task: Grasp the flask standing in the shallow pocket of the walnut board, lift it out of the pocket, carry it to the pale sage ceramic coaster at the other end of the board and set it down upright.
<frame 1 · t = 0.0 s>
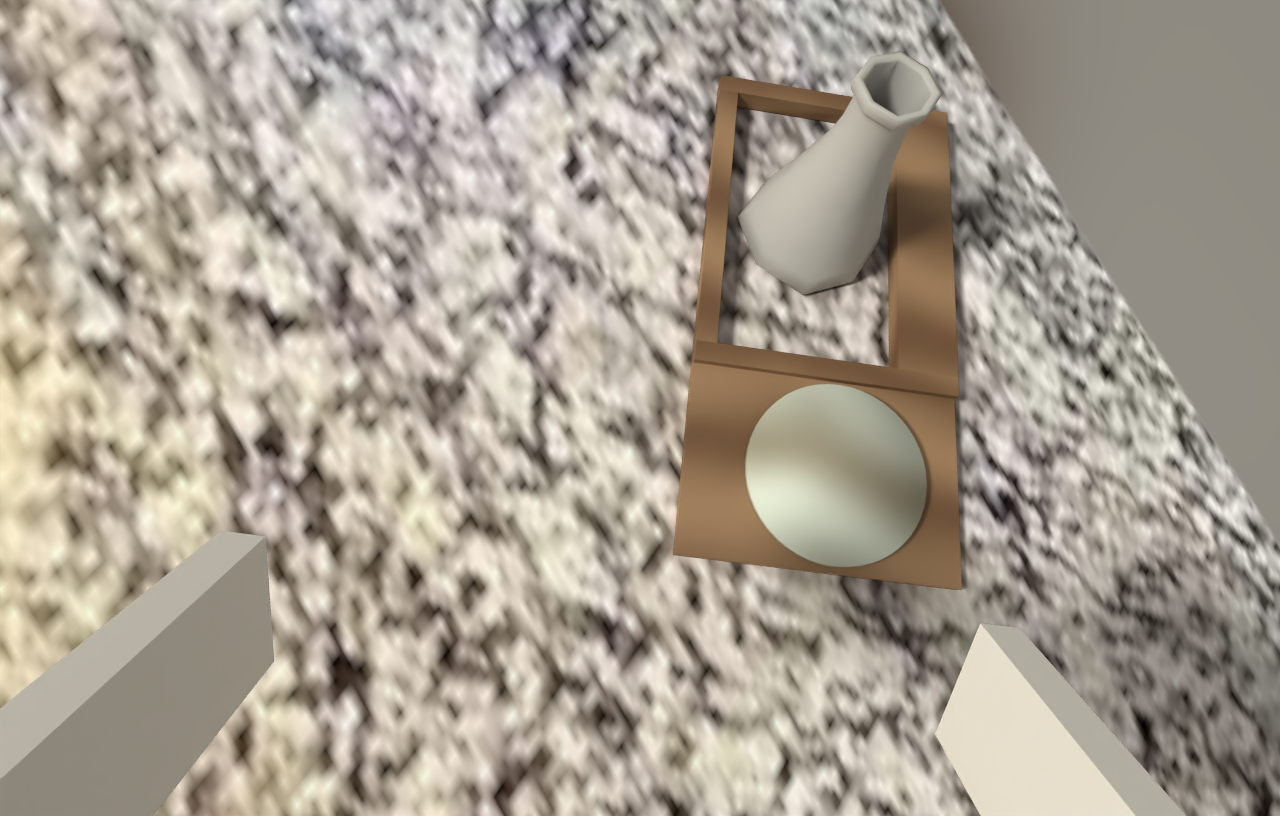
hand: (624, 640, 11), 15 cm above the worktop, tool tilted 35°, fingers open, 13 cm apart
board: (822, 311, 31), on the worktop
flask: (804, 235, 32), on the worktop
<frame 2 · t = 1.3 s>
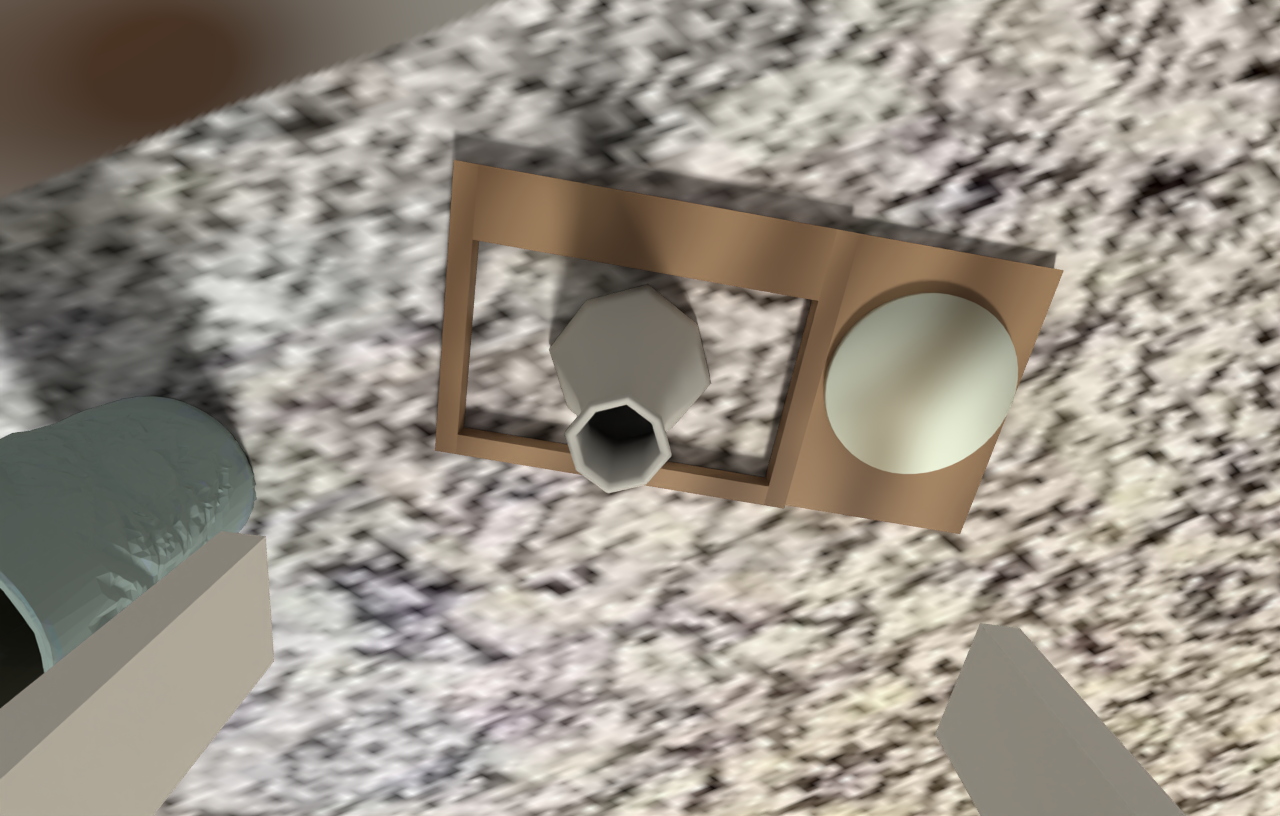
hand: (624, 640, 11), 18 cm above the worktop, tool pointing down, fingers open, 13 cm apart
green cup: (176, 477, 31), on the worktop
board: (729, 361, 28), on the worktop
flask: (630, 363, 28), on the worktop
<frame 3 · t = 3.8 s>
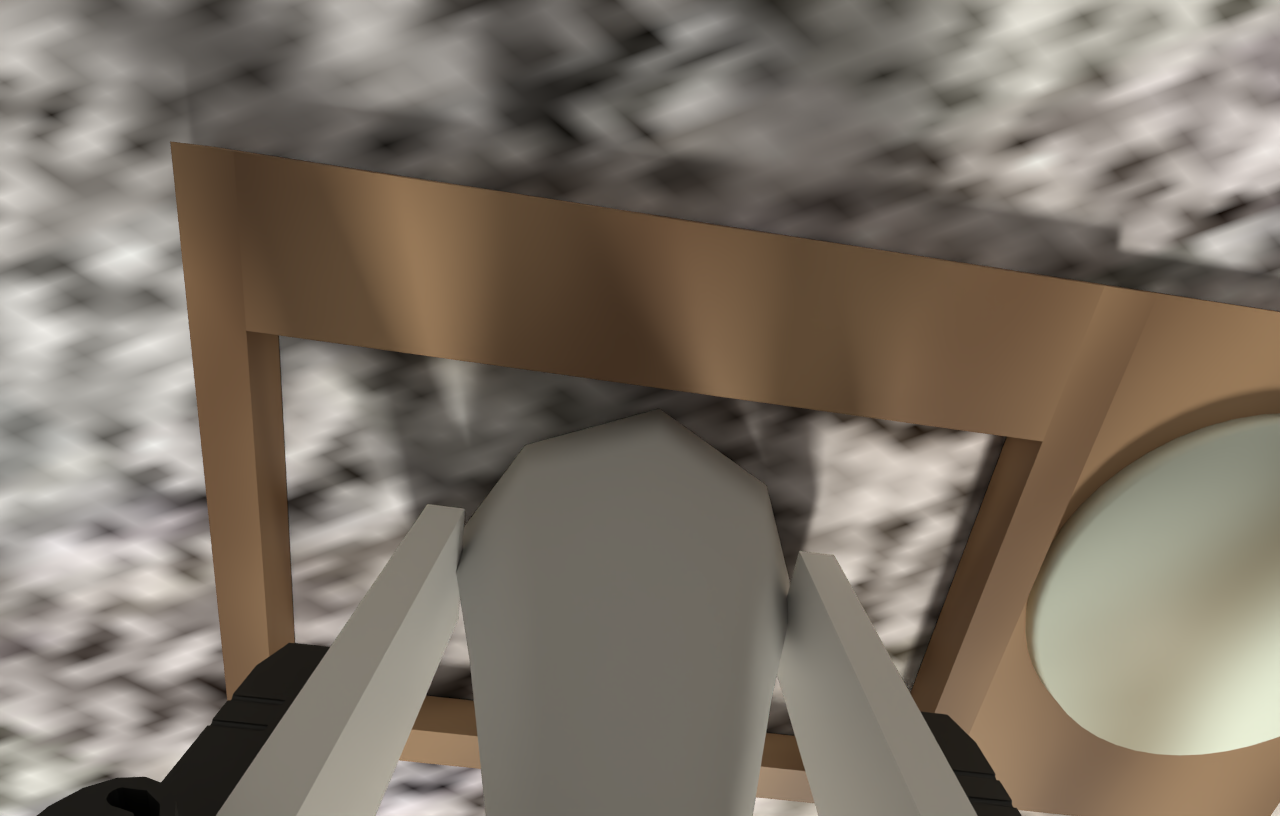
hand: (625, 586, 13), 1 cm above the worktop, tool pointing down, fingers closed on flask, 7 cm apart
board: (830, 549, 14), on the worktop
flask: (626, 556, 14), on the worktop, touching gripper
when the fingers open (3 cm above the worktop, at t = 8.7 s): flask drops 1 cm, resting on board.
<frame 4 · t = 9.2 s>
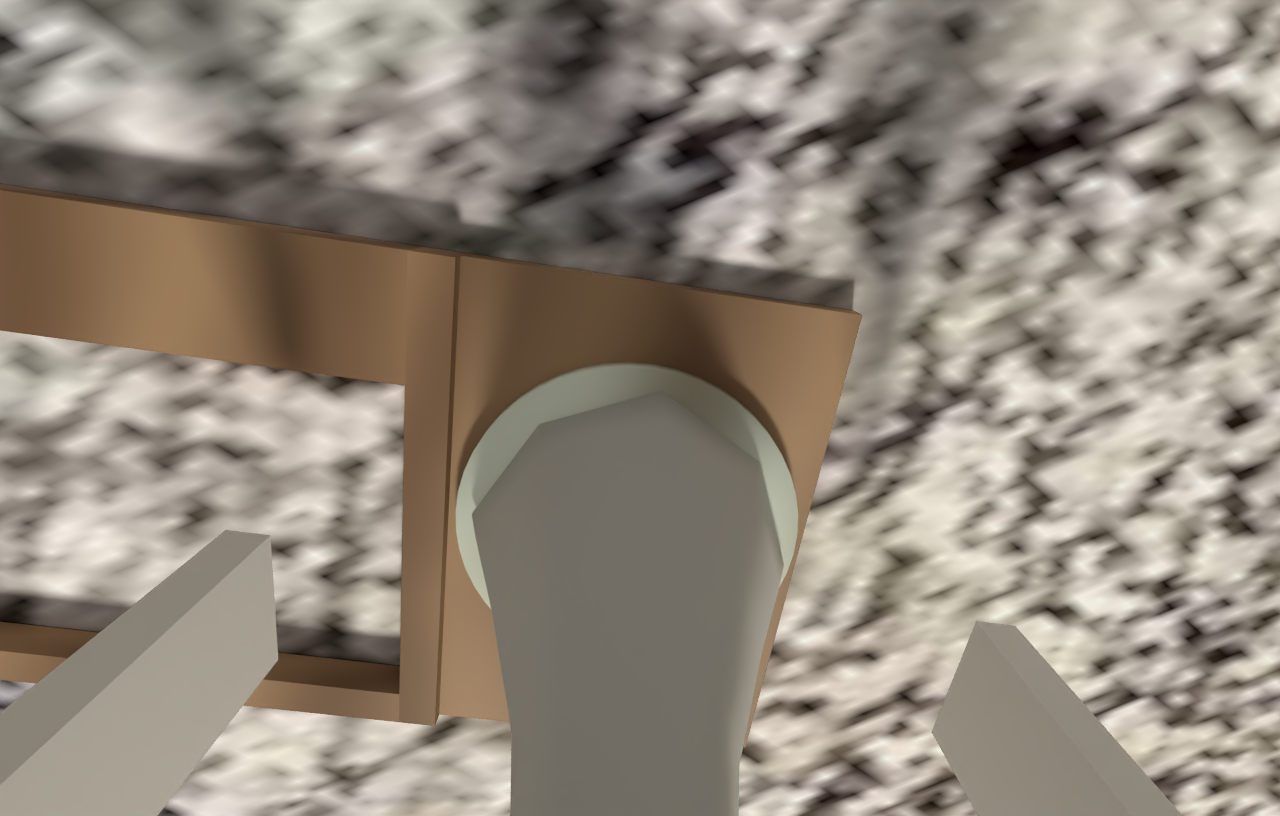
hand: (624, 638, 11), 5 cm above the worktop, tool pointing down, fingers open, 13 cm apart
board: (299, 486, 16), on the worktop
flask: (630, 528, 15), point 1 cm above the worktop, touching board
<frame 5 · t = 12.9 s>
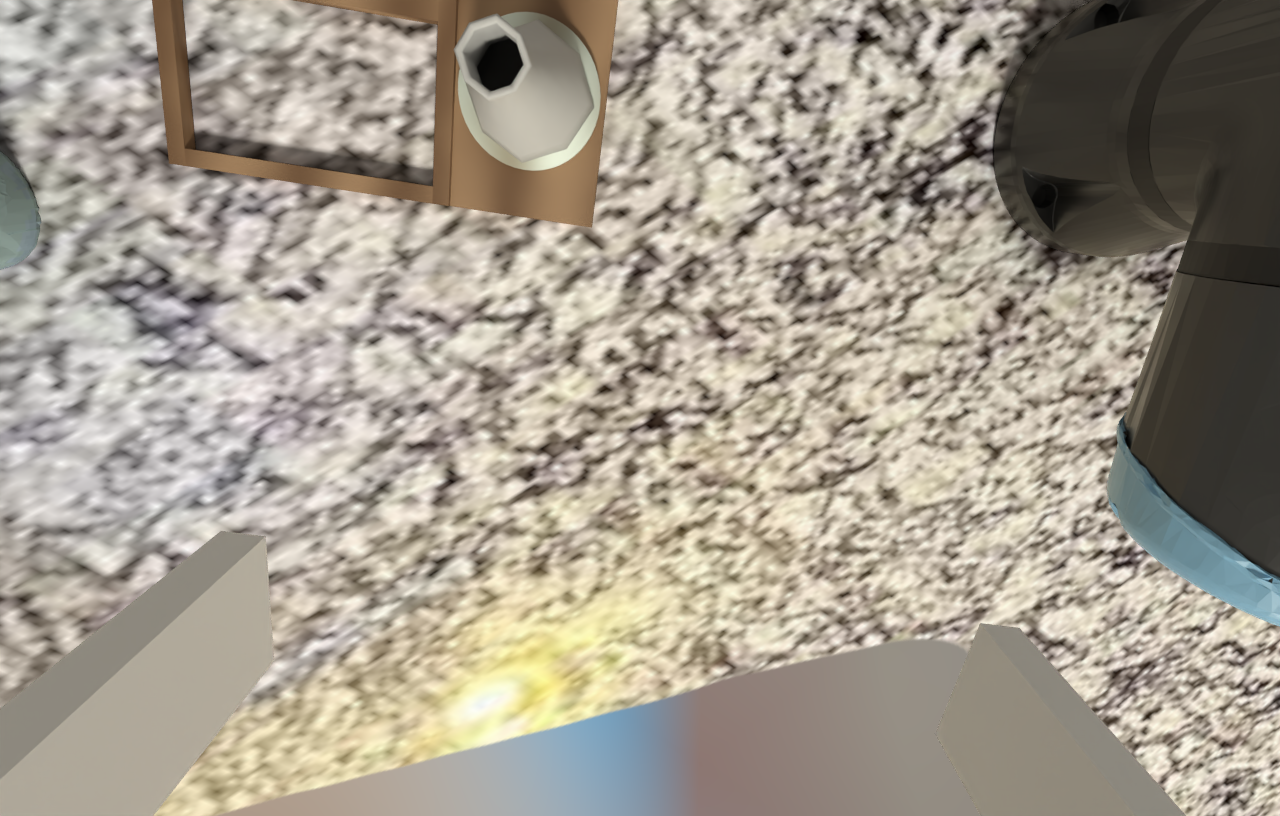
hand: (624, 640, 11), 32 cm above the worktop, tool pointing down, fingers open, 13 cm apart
board: (391, 83, 36), on the worktop
flask: (531, 95, 36), point 1 cm above the worktop, touching board
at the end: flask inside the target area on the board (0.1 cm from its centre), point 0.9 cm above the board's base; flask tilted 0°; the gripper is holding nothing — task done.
